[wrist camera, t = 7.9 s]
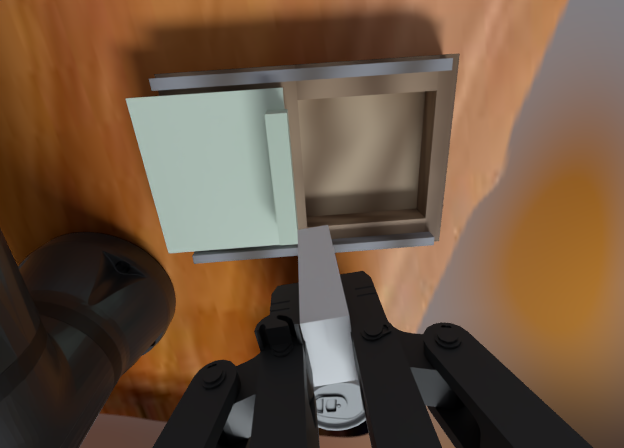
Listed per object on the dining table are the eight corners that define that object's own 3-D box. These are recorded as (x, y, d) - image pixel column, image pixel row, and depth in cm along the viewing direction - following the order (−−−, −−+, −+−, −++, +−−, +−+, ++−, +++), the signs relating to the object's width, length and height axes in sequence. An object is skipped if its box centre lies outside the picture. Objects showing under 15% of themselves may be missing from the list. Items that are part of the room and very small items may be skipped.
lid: (171, 249, 30) (155, 271, 27) (130, 98, 25) (103, 101, 21) (299, 239, 30) (299, 260, 27) (285, 87, 25) (284, 88, 21)
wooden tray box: (206, 244, 34) (194, 266, 30) (168, 74, 27) (147, 74, 23) (427, 227, 34) (444, 247, 30) (443, 55, 27) (467, 52, 24)
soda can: (293, 286, 36) (292, 376, 25) (360, 284, 37) (388, 373, 26) (294, 338, 39) (294, 438, 28) (356, 336, 40) (379, 434, 29)
